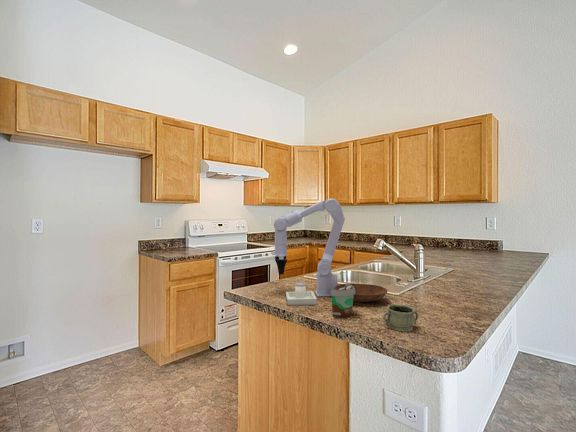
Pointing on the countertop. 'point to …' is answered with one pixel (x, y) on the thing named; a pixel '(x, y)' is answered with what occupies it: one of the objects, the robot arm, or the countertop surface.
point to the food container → (342, 301)
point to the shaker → (300, 290)
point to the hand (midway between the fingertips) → (280, 272)
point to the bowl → (366, 292)
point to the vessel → (400, 317)
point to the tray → (308, 300)
